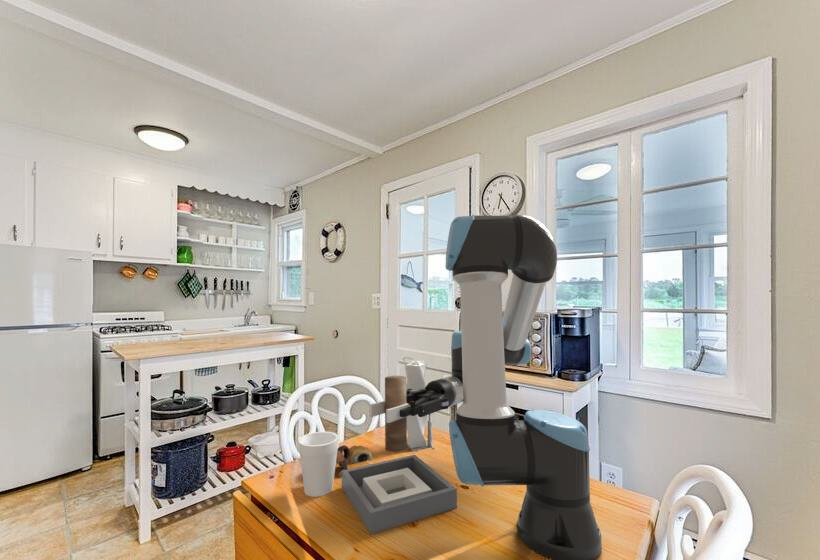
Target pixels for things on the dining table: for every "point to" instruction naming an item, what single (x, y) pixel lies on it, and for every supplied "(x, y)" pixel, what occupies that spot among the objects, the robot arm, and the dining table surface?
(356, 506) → the open box
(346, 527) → the dining table surface
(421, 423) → the skyscraper
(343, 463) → the pottery mug
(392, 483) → the bore plate
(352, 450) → the pastry
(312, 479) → the foam cup
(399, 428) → the walnut peg
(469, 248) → the robot arm
